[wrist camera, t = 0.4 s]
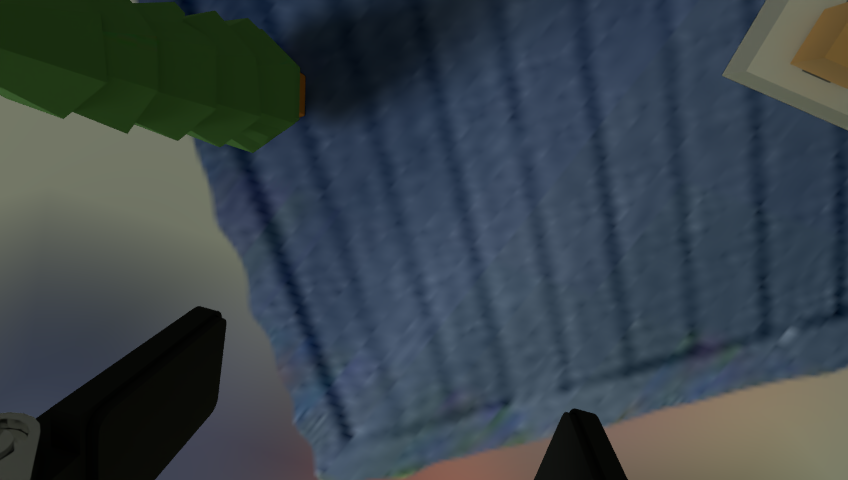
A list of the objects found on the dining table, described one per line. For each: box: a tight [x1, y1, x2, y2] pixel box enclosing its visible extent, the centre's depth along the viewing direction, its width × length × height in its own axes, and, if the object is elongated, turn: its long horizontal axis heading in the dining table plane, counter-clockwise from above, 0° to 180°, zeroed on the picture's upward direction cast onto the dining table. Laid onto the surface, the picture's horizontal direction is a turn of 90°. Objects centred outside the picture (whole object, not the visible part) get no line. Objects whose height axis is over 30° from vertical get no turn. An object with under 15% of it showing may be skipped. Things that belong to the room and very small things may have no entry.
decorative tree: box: [0, 0, 305, 153], centre depth 23 cm, size 10×9×30 cm
